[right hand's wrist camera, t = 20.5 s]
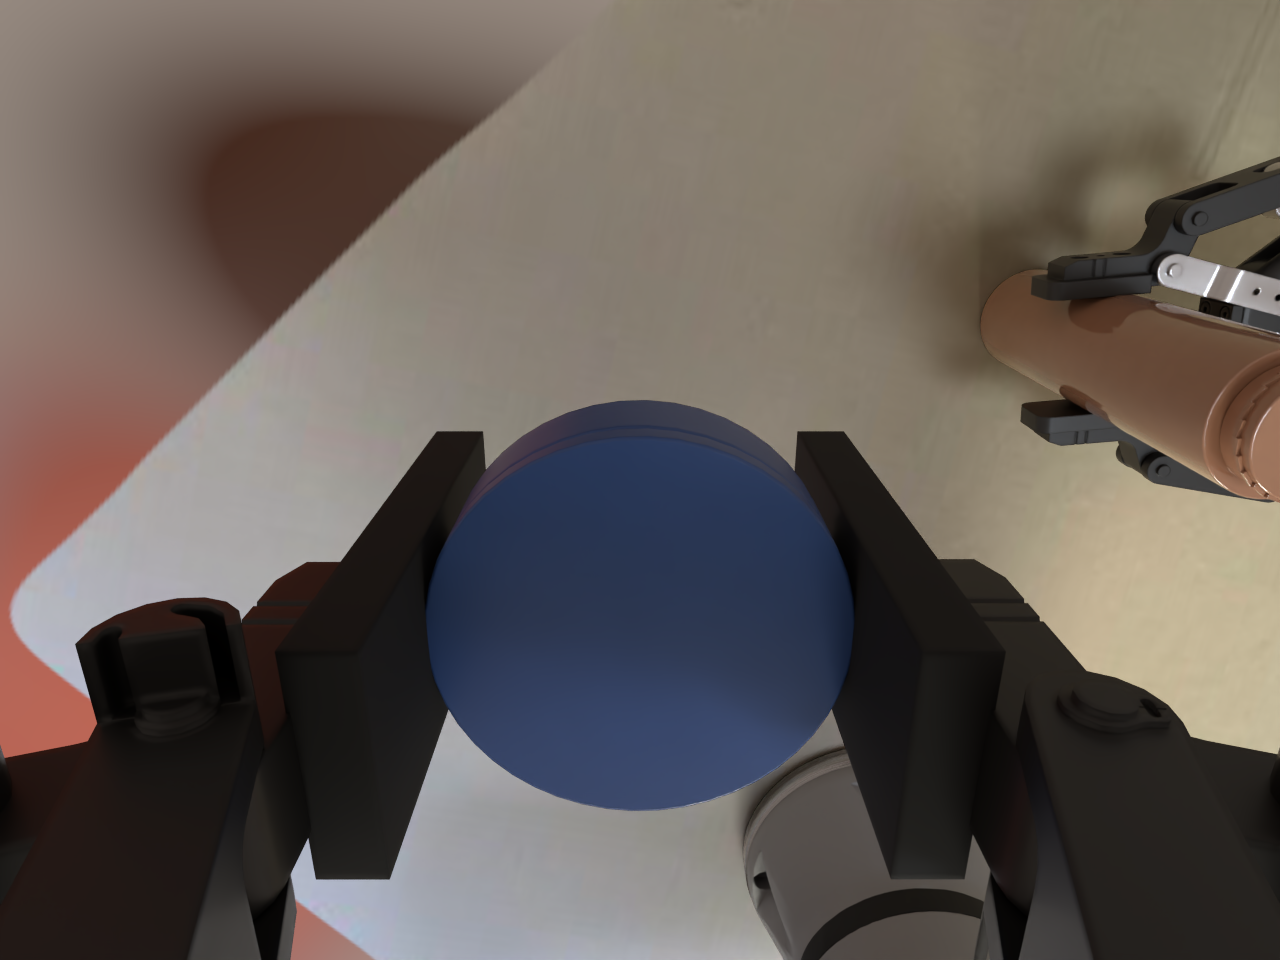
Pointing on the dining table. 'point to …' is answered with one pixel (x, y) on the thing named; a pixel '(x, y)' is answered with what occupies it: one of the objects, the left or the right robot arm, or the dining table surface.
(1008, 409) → the dining table surface
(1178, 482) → the left robot arm
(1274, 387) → the jar
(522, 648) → the lid
